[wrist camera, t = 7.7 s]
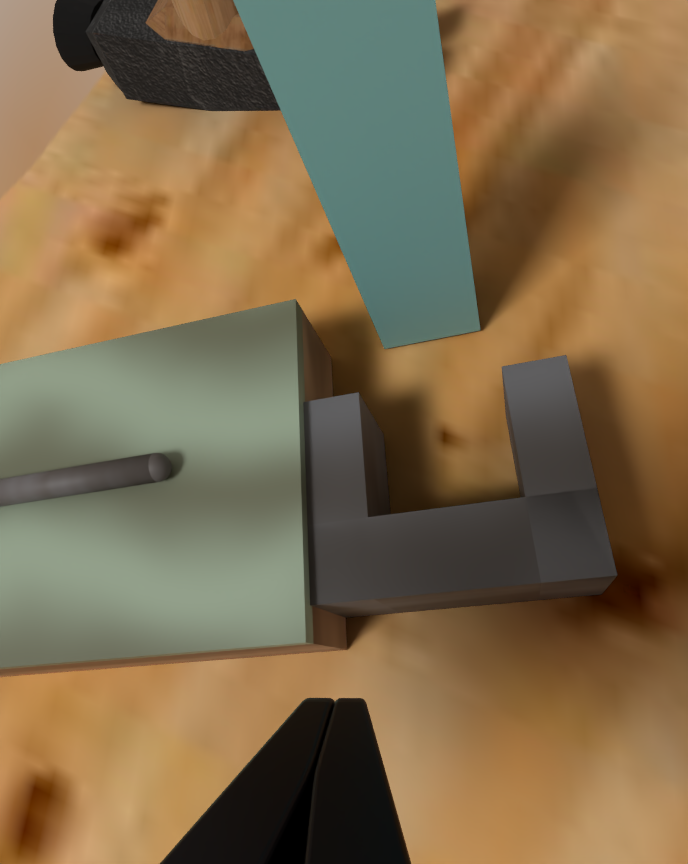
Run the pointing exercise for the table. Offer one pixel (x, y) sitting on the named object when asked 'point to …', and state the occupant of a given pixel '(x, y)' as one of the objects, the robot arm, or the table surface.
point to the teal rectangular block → (376, 151)
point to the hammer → (166, 51)
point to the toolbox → (255, 502)
